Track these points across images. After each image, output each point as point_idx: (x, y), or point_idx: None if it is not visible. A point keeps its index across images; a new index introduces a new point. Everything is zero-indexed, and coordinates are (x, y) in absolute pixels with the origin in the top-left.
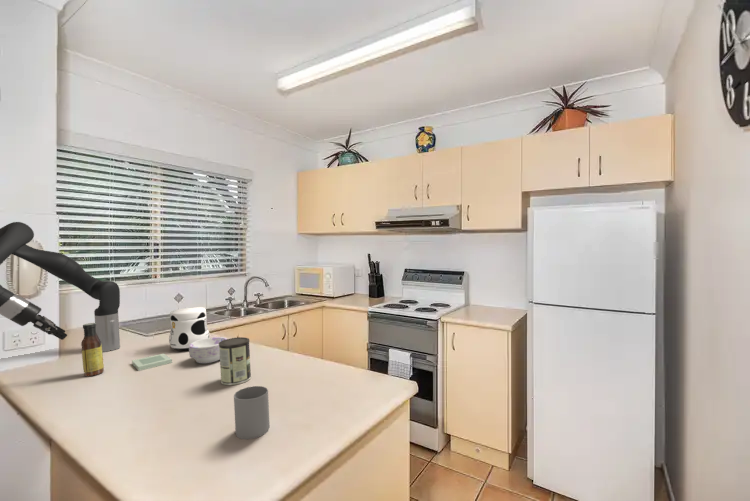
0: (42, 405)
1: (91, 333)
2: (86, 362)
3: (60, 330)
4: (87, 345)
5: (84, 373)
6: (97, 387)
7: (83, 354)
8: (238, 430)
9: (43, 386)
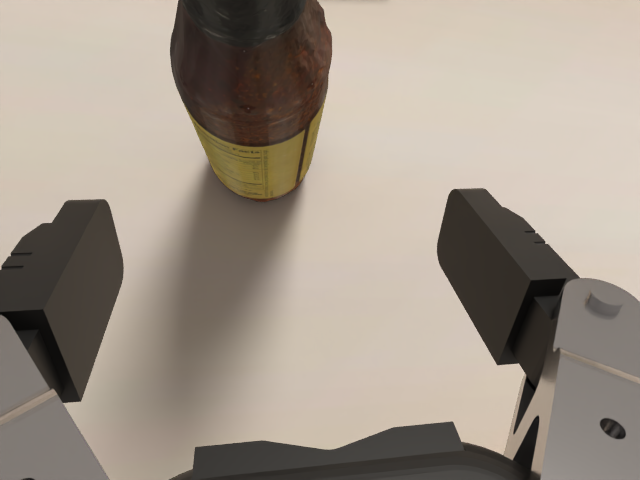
0: None
1: None
2: (303, 161)
3: (93, 257)
4: (324, 86)
5: (267, 198)
6: (527, 168)
7: (289, 151)
8: None
9: (290, 395)
